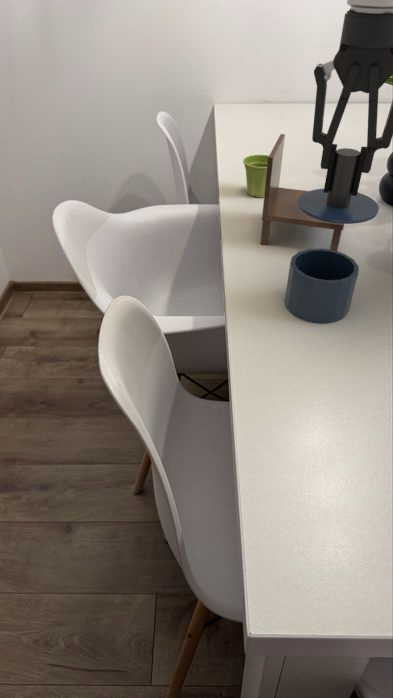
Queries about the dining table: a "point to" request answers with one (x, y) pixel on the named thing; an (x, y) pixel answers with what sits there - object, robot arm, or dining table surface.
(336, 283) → the pot
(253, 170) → the plant pot
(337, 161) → the lid
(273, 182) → the wooden toy chair
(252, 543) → the dining table surface
